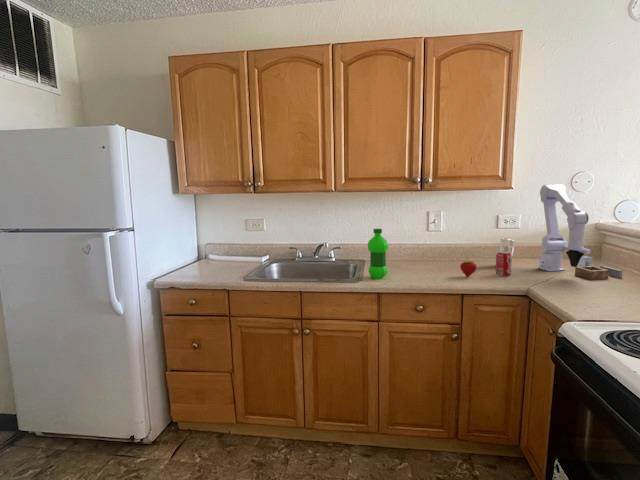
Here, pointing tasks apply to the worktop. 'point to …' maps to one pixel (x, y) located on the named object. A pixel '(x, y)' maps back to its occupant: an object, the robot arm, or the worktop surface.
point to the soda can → (503, 263)
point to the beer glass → (507, 245)
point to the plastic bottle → (378, 255)
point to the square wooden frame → (591, 272)
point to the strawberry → (468, 268)
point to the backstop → (613, 271)
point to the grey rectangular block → (585, 261)
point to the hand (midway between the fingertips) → (574, 266)
